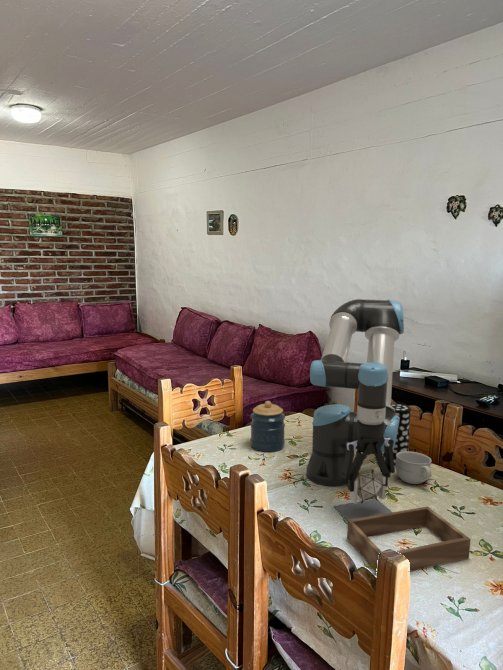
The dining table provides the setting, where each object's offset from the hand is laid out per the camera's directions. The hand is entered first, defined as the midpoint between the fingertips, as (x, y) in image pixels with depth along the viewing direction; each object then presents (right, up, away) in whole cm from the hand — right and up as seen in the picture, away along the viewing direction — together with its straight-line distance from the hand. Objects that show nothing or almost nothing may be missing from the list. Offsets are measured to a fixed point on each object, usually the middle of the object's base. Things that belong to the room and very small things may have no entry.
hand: (367, 499), depth 136 cm
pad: (0, -4, +1) cm, 5 cm away
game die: (0, 0, 0) cm, 0 cm away
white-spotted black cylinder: (+18, +1, +36) cm, 40 cm away
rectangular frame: (+6, -7, -15) cm, 17 cm away
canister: (-26, +3, +50) cm, 56 cm away
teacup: (+20, -2, +21) cm, 29 cm away
